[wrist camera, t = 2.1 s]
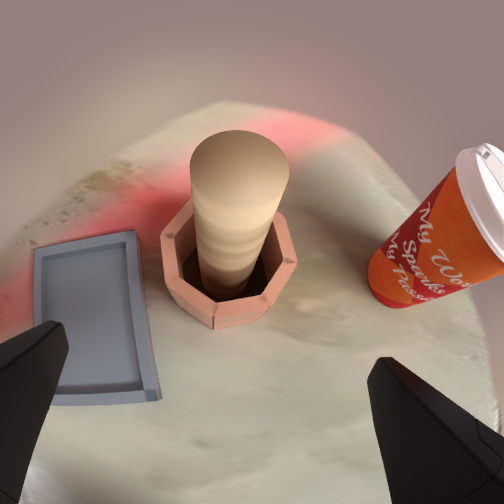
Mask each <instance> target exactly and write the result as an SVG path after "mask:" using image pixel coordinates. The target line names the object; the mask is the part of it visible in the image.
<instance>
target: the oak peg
mask: <svg viewBox="0 0 504 504" xmlns="http://www.w3.org/2000/svg"><path fill="white" fill-rule="evenodd" d="M190 178H191V190H192V201H193V211H194V222H195V231H196V240H197V249H198V258H199V266H200V274H201V281H202V284H203V286H204V288H205V289H206V290H207V291H208V292H209V293H210V294H212V295H213V296H215V297H218V298H232V297H235V296H237V295H239V294H240V293H241V292H242V291H243V290H244V289H245V287H246V285H247V283H248V281H249V278H250V276H251V273H252V271H253V268H254V266H255V263H256V261H257V258H258V255H259V253H260V250H261V248H262V245H263V243H264V240H265V238H266V235H267V233H268V230H269V228H270V225H271V223H272V220H273V218H274V215H275V213H276V210H277V208H278V205H279V202H280V200H281V197H282V195H283V192H284V190H285V187H286V185H287V182H288V179H289V164H288V161H287V159H286V156H285V155H284V153H283V152H282V150H281V149H280V148H279V147H278V146H277V145H276V144H275V143H273V142H272V141H271V140H269V139H267V138H266V137H264V136H262V135H259V134H256V133H253V132H249V131H241V130H232V131H225V132H220V133H217V134H214V135H212V136H210V137H208V138H207V139H205V140H204V141H203V142H201V143H200V144H199V145H198V146H197V148H196V149H195V151H194V152H193V154H192V157H191V160H190Z"/></svg>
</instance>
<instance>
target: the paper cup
mask: <svg viewBox="0 0 504 504" xmlns="http://www.w3.org/2000/svg"><path fill="white" fill-rule="evenodd" d="M503 273H504V153H503V152H501V151H500V150H499V149H497V148H496V147H494V146H492V145H490V144H486V143H485V144H482V145H480V146H479V147H475V148H468V149H464V150H462V151H461V152H460V153H459V154H458V156H457V158H456V165H455V167H454V168H453V169H452V170H451V171H450V172H449V173H448V175H447V176H446V177H445V178H444V179H443V180H442V181H441V182H440V184H438V186H437V187H436V188H435V189H434V190H433V191H432V192H431V193H430V195H429V196H428V197H427V198H426V199H425V200H424V202H423V203H422V204H421V205H420V206H419V207H418V208H417V209H416V210H415V211H414V212H413V214H412V215H411V216H410V217H409V218H408V219H407V220H406V221H405V222H404V223H403V224H402V225H401V226H400V227H399V228H398V229H397V230H396V231H395V232H394V233H393V234H392V235H391V236H390V237H389V238H388V239H387V240H386V241H385V242H384V244H383V245H382V246H381V247H380V248H379V249H378V250H377V251H376V252H375V253H374V254H373V256H372V257H371V259H370V261H369V264H368V270H367V275H368V282H369V285H370V288H371V290H372V292H373V294H374V295H375V296H376V298H377V299H378V300H379V301H380V302H381V303H383V304H384V305H386V306H388V307H390V308H395V309H399V308H405V307H409V306H413V305H416V304H420V303H423V302H426V301H429V300H433V299H436V298H439V297H442V296H445V295H448V294H451V293H453V292H456V291H459V290H462V289H465V288H467V287H470V286H473V285H475V284H478V283H480V282H483V281H486V280H488V279H490V278H493V277H495V276H498V275H501V274H503Z"/></svg>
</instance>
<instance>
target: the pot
mask: <svg viewBox="0 0 504 504" xmlns="http://www.w3.org/2000/svg"><path fill="white" fill-rule="evenodd" d="M160 240H161V250H162V259H163V267H164V275H165V283H166V286H167V287H168V289H169V291H170V293H171V295H172V297H173V298H174V300H175V302H176V304H177V305H178V306H179V307H181V308H182V309H184V310H185V311H186V312H188V313H189V314H191V315H192V316H193V317H195V318H196V319H198V320H199V321H201V322H202V323H204V324H205V325H206V326H208V327H209V328H211V329H213V328H214V330H216V329H222V328H227V327H233V326H238V325H243V324H248V323H253V322H257V321H258V320H259V319H260V318H261V317H262V316H263V315H264V314H265V313H266V312H267V310H268V309H269V308H270V307H271V306H272V304H273V303H274V301H275V300H276V298H277V296H278V295H279V293H280V292H281V290H282V288H283V287H284V285H285V284H286V282H287V280H288V279H289V277H290V276H291V274H292V272H293V271H294V269H295V267H296V266H297V262H298V261H297V257H296V254H295V250H294V247H293V243H292V240H291V236H290V233H289V230H288V226H287V223H286V220H285V217H283V215H282V214H281V213H279V212H278V211H276V213H275V215H274V218H273V220H272V223H271V225H270V228H269V230H268V233H267V235H266V238H265V240H264V243H263V245H262V248H261V250H260V253H261V256H262V260H263V264H264V268H265V272H266V276H267V280H268V285H267V287H266V288H265V290H264V291H263V293H262V294H261V295H258V296H253V297H247V298H242V299H236V300H231V301H225V302H219V303H216V302H214V301H213V300H211V299H210V298H208V297H207V296H205V295H204V294H202V293H201V292H199V291H198V290H197V289H195V288H194V287H192V286H191V285H189V284H188V283H186V282H185V281H184V278H183V271H182V265H183V263H184V262H185V261H186V259H187V258H188V257H189V256H190V254H191V253H192V252H193V250H194V249H195V248H196V247H197V240H196V231H195V222H194V211H193V201H192V197H191V198H190V200H189V201H188V202H187V203H186V204H185V205H184V206H183V207H182V209H181V210H180V211H179V212H178V213H177V214H176V215H175V217H174V218H173V219H172V220H171V221H170V222H169V224H168V225H167V226H166V227H165V228H164V229H163V231H162V232H161V235H160Z"/></svg>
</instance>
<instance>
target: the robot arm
mask: <svg viewBox="0 0 504 504" xmlns="http://www.w3.org/2000/svg"><path fill="white" fill-rule="evenodd" d="M68 352H69V343H68V339H67V336H66V332H65V328H64V325H63V324H62V323H61V322H59V321H55V320H48V321H46V322H44V323H42V324H40V325H38V326H36V327H34V328H31V329H29V330H27V331H25V332H23V333H21V334H19V335H17V336H15V337H13V338H11V339H9V340H7V341H5V342H3V343H1V344H0V504H18V503H19V500H20V496H21V492H22V488H23V484H24V480H25V477H26V473H27V470H28V467H29V463H30V460H31V457H32V454H33V451H34V448H35V445H36V442H37V439H38V436H39V434H40V431H41V428H42V425H43V423H44V420H45V418H46V415H47V412H48V410H49V407H50V405H51V402H52V400H53V397H54V395H55V392H56V389H57V386H58V383H59V379H60V376H61V373H62V370H63V367H64V364H65V361H66V358H67V355H68ZM367 386H368V391H369V397H370V404H371V410H372V416H373V423H374V428H375V432H376V436H377V440H378V444H379V448H380V452H381V456H382V460H383V464H384V469H385V473H386V477H387V482H388V487H389V491H390V496H391V501H392V504H504V437H503V436H501V435H500V434H498V433H497V432H495V431H494V430H492V429H491V428H489V427H488V426H486V425H485V424H483V423H482V422H481V421H479V420H478V419H475V417H474V416H472V415H471V414H470V413H468V412H467V411H465V410H464V409H463V408H461V407H460V406H459V405H457V404H456V403H454V402H453V401H452V400H450V399H449V398H447V397H446V396H445V395H443V394H442V393H441V392H439V391H438V390H436V389H435V388H434V387H432V386H431V385H430V384H428V383H427V382H425V381H424V380H423V379H421V378H420V377H418V376H417V375H416V374H414V373H413V372H412V371H410V370H409V369H407V368H406V367H405V366H403V365H402V364H401V363H399V362H398V361H396V360H395V359H394V358H392V357H380V358H379V359H377V361H376V363H375V365H374V367H373V369H372V370H371V372H370V374H369V376H368V380H367Z"/></svg>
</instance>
